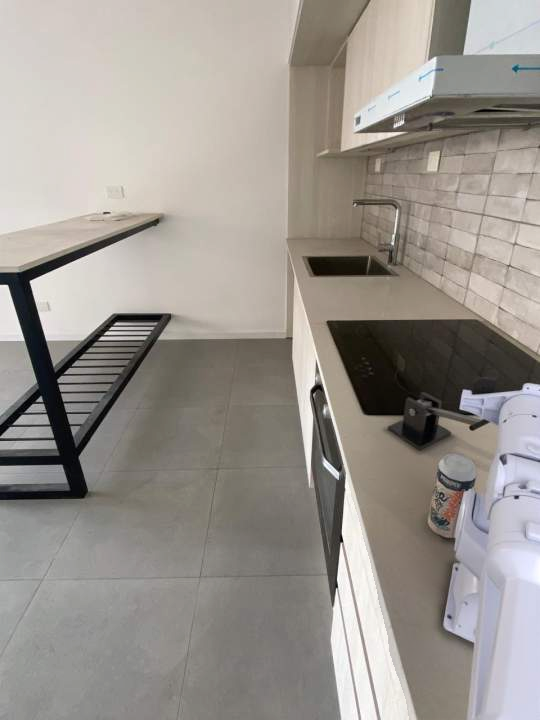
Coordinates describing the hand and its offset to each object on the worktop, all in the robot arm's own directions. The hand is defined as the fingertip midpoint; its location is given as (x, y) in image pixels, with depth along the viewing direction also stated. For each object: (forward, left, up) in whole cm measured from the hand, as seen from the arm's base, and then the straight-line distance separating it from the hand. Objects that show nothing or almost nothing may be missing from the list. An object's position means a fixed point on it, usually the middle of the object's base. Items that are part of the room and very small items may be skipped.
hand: (526, 380), depth 54 cm
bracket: (+13, +14, -22) cm, 29 cm away
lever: (+10, +9, -15) cm, 20 cm away
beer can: (-9, +6, -22) cm, 24 cm away
